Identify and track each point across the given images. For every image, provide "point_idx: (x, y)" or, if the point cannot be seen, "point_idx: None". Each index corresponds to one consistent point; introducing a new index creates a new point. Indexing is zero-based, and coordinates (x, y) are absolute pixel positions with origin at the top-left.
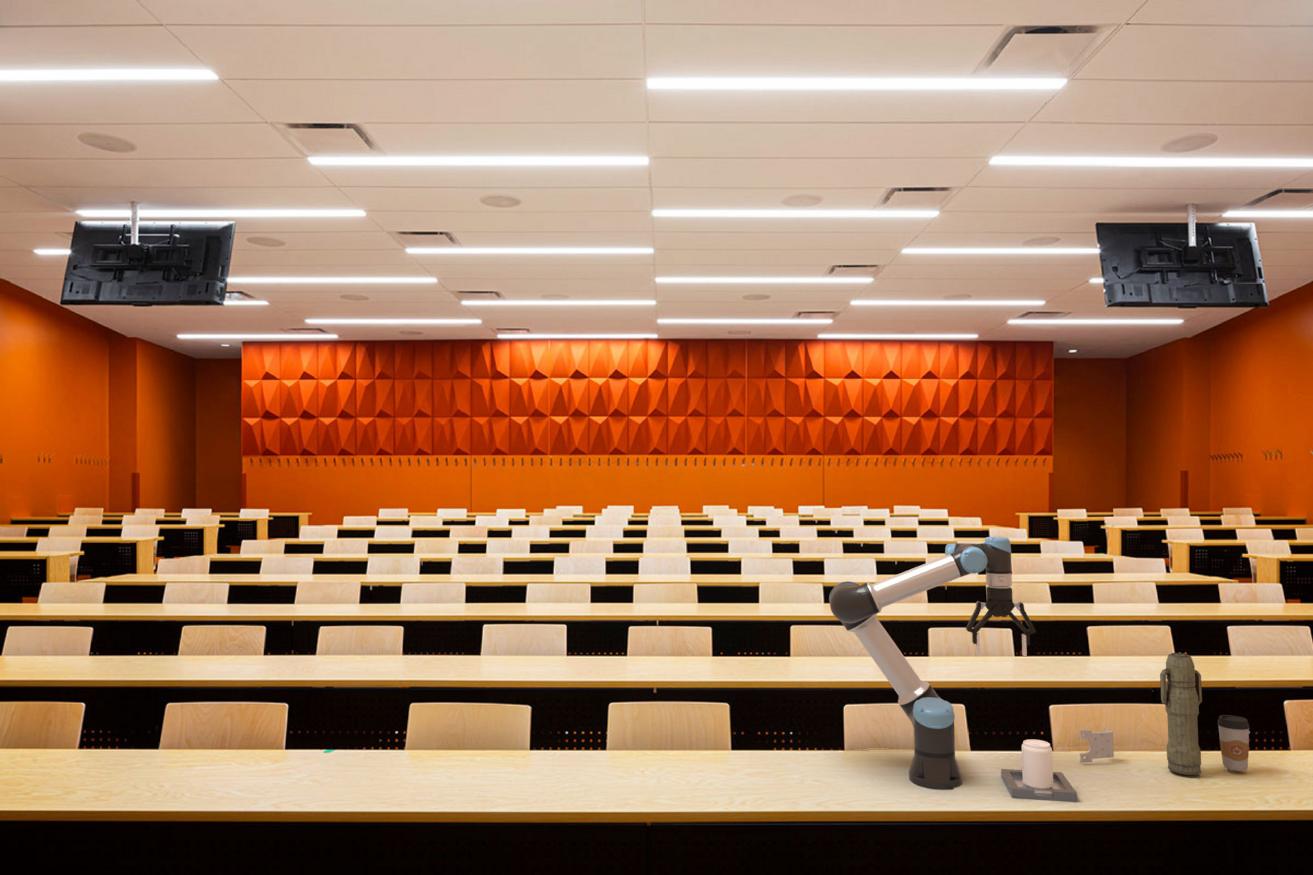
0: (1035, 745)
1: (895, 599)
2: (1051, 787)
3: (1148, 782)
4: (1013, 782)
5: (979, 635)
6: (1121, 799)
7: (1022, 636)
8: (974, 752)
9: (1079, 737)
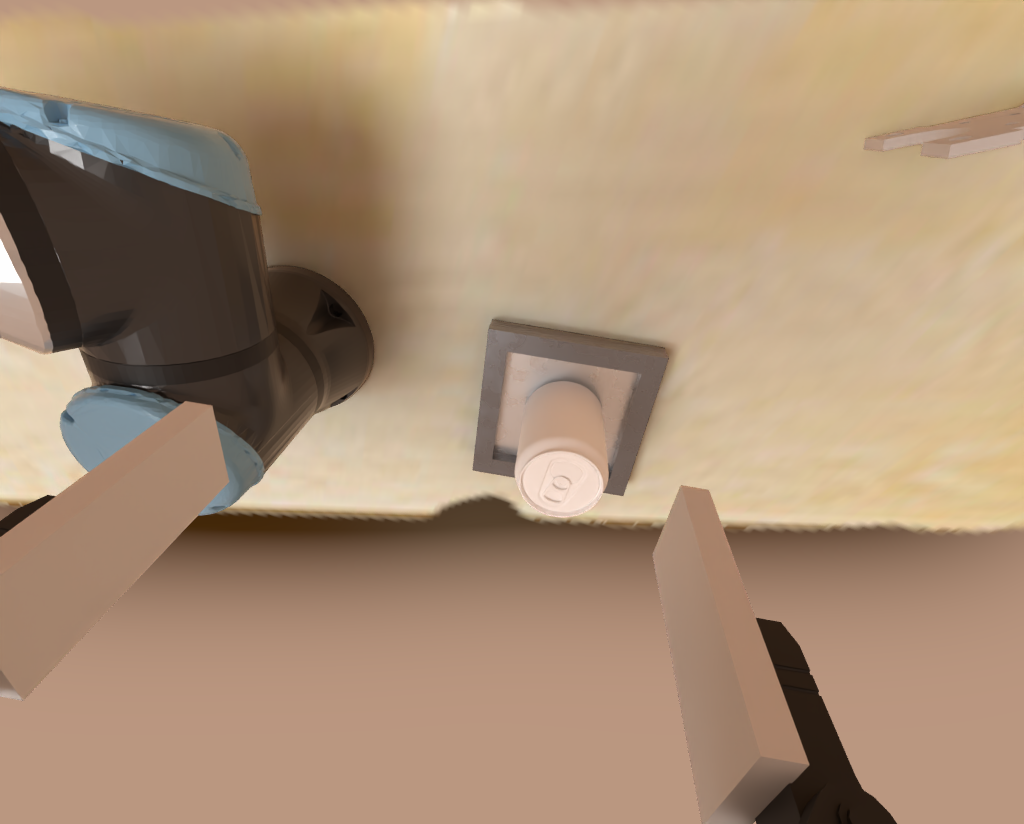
0: (552, 490)
1: None
2: None
3: (932, 361)
4: (490, 432)
5: (40, 680)
6: (741, 471)
7: (725, 743)
8: (468, 13)
9: (925, 146)
